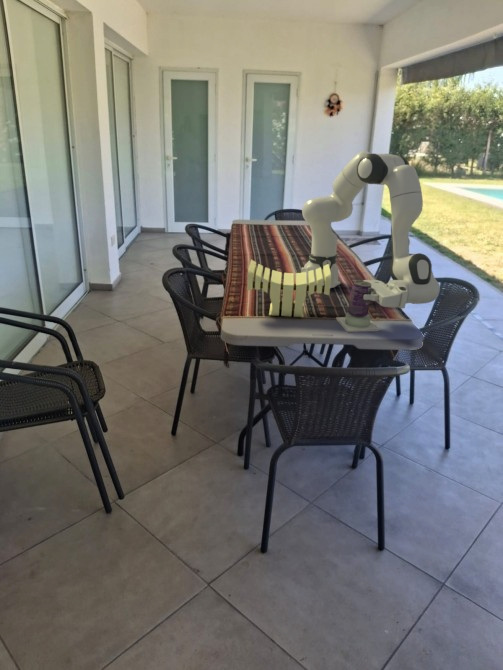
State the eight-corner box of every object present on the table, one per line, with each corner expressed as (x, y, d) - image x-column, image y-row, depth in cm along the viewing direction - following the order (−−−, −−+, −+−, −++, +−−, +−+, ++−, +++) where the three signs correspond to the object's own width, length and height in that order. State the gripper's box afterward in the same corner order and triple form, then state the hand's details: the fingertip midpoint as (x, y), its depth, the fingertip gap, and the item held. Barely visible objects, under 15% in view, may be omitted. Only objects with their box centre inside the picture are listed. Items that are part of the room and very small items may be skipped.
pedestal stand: (336, 319, 184) (337, 309, 182) (366, 318, 186) (367, 309, 184) (347, 331, 173) (348, 322, 171) (379, 330, 175) (380, 321, 173)
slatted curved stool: (246, 316, 183) (247, 270, 176) (249, 302, 198) (251, 259, 190) (326, 321, 181) (331, 275, 174) (324, 306, 196) (328, 263, 189)
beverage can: (364, 311, 181) (369, 280, 177) (369, 318, 175) (375, 286, 170) (345, 310, 181) (350, 279, 176) (350, 317, 174) (355, 285, 170)
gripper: (384, 275, 184) (349, 276, 182) (409, 292, 166) (371, 293, 164) (382, 291, 187) (347, 292, 185) (406, 310, 169) (368, 311, 166)
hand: (359, 293), depth 174 cm, fingers closed on beverage can, 6 cm apart
